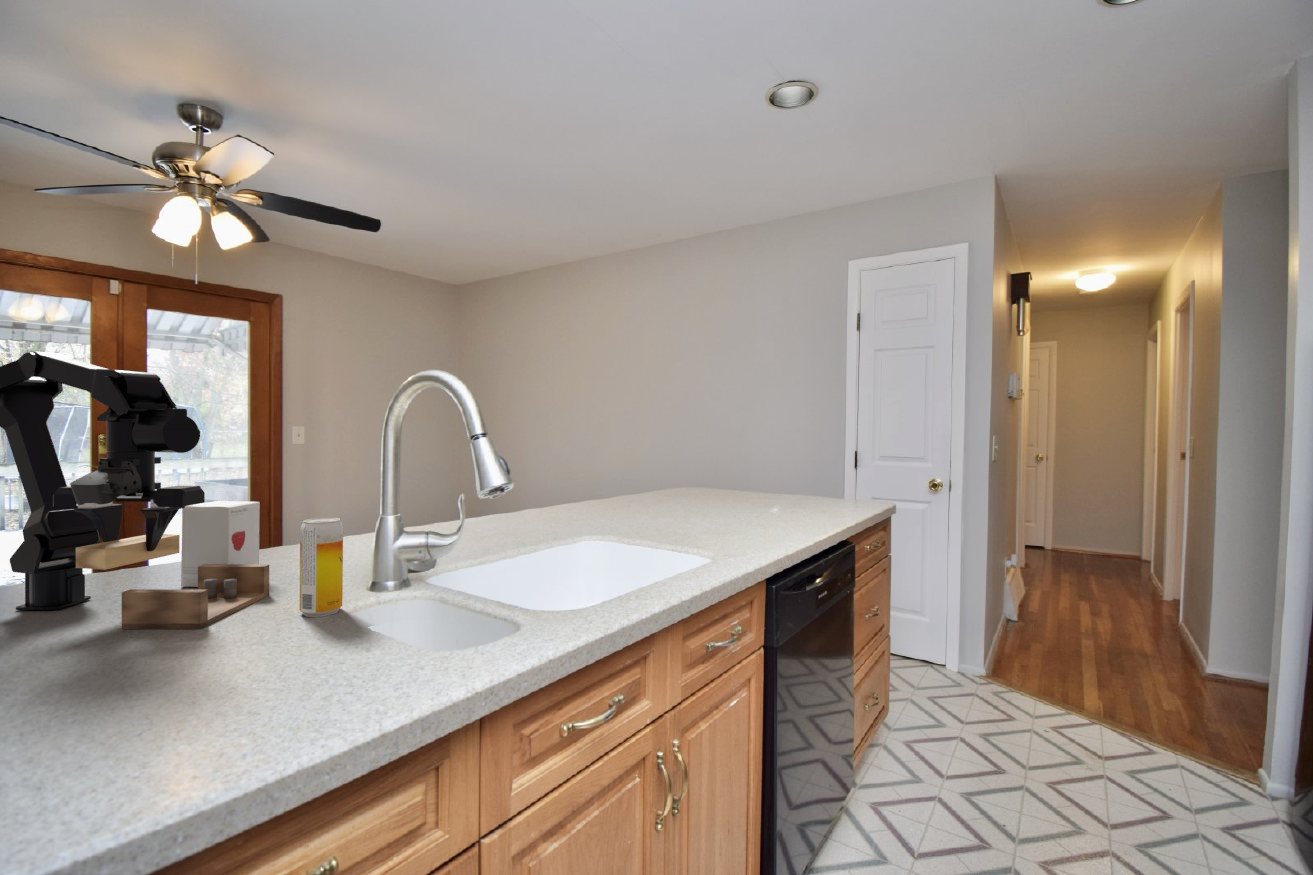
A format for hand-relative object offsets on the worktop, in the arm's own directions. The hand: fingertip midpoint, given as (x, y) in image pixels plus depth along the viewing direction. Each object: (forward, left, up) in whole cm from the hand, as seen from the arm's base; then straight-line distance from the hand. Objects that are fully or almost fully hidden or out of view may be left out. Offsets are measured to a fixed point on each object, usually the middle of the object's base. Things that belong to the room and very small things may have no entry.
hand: (131, 550), depth 96 cm
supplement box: (+1, +20, -10) cm, 23 cm away
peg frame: (+9, +2, -10) cm, 14 cm away
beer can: (+28, +1, -10) cm, 30 cm away
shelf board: (0, 0, -1) cm, 1 cm away
